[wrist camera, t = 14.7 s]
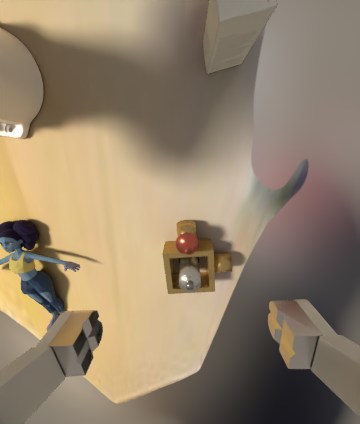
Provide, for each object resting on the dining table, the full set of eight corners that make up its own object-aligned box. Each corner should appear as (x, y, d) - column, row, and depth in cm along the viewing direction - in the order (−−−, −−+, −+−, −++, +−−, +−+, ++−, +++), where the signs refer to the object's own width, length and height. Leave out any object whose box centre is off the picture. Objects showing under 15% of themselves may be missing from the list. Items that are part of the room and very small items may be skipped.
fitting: (169, 278, 43) (167, 298, 37) (162, 221, 38) (158, 234, 32) (227, 275, 42) (234, 295, 36) (227, 217, 37) (236, 229, 31)
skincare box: (238, 33, 27) (277, -54, 16) (241, 65, 28) (279, 6, 17) (200, 44, 28) (212, -32, 16) (205, 75, 29) (219, 24, 18)
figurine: (65, 319, 49) (50, 338, 44) (-21, 265, 43) (-48, 280, 38) (110, 276, 43) (100, 292, 38) (19, 208, 38) (-7, 217, 33)
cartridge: (179, 268, 42) (178, 297, 33) (178, 251, 40) (176, 277, 32) (199, 267, 42) (203, 296, 33) (198, 250, 40) (202, 276, 32)
